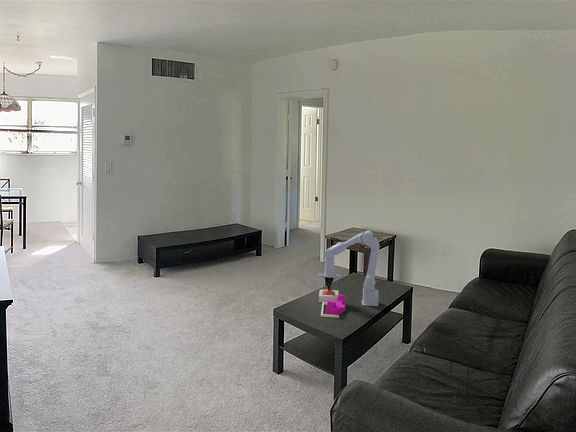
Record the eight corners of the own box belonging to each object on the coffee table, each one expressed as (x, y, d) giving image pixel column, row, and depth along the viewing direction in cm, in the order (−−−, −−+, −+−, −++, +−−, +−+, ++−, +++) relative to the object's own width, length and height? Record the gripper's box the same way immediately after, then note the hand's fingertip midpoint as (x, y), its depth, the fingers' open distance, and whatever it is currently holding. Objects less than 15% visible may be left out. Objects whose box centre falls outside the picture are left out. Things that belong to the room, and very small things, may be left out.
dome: (334, 296, 291) (334, 287, 290) (334, 300, 284) (334, 291, 283) (323, 295, 292) (323, 287, 291) (322, 299, 285) (323, 290, 284)
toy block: (336, 316, 262) (337, 303, 261) (327, 314, 265) (327, 301, 264) (348, 308, 274) (349, 296, 273) (339, 306, 278) (339, 294, 276)
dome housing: (338, 296, 293) (338, 290, 293) (338, 303, 282) (338, 296, 281) (319, 295, 295) (319, 289, 294) (318, 302, 283) (318, 295, 283)
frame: (339, 305, 279) (339, 303, 279) (338, 317, 259) (339, 315, 259) (322, 304, 280) (322, 302, 280) (320, 316, 260) (320, 314, 260)
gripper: (341, 266, 288) (340, 287, 290) (317, 265, 290) (317, 286, 292) (341, 269, 281) (340, 291, 284) (317, 268, 283) (316, 290, 285)
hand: (328, 289), depth 287 cm, fingers closed, pressing on dome
